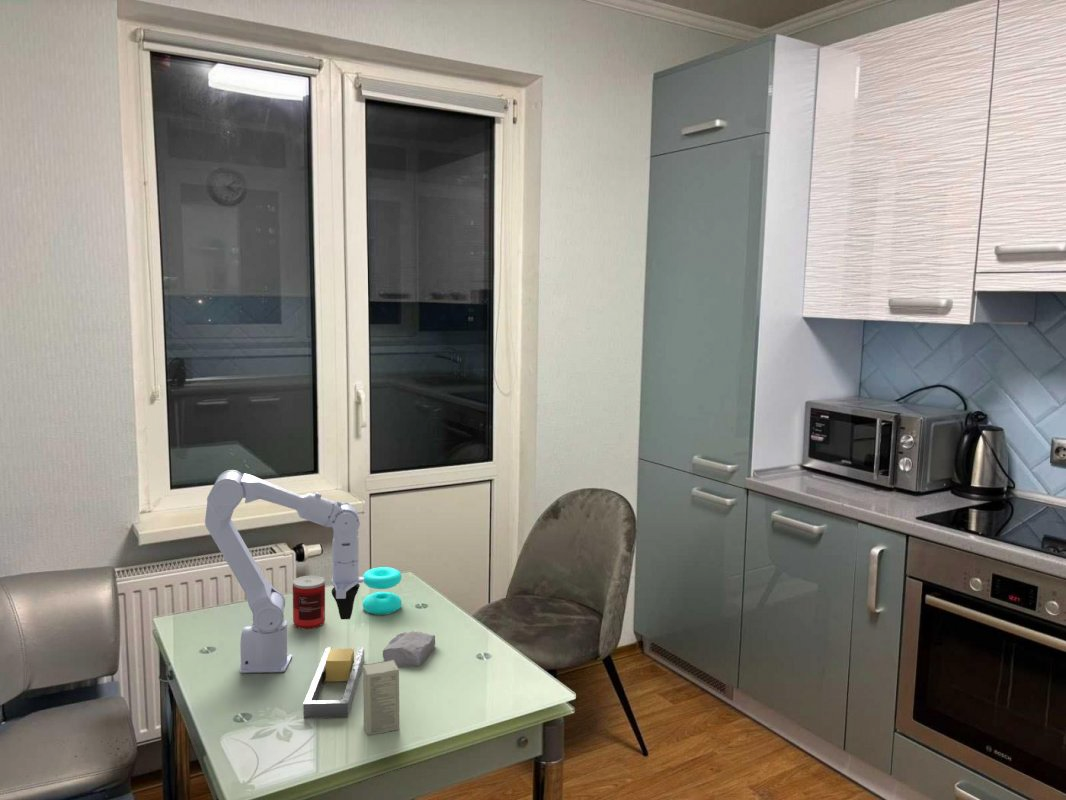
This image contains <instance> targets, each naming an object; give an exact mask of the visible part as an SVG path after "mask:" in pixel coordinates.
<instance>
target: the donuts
mask: <svg viewBox="0 0 1066 800" xmlns="http://www.w3.org/2000/svg"><path fill="white" fill-rule="evenodd" d="M362 577H364V582H363V583H364V585H365V586H367V587H368V588H371V589H375V590H387V589H390V588H393V587H396V586H397V585H398V584H400V582H401V581H402V573H401V572H400V571H399V570H398V569H396V568H393V567H390V566H389V567H386V566H380V567H374V568H370V569H368V570H366V571H365V572H364V573H363V575H362ZM401 599H402V598H400V596H399V595H397V594H396V593H393V592H392V591H391V592H389V591H377V592H373V593H371V594H369V595H366V597H365V598H364V599H363V601H362V608H363V610H364V611H365V612H367V613H370V614H372V615H389V614H392V613H395V612H396V611H398V610H399V609H401V606H402V600H401Z"/></svg>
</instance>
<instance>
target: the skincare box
mask: <svg viewBox="0 0 1066 800" xmlns="http://www.w3.org/2000/svg"><path fill="white" fill-rule="evenodd" d="M398 666H399V665H396V663H395V661H394V660H390V661H385V660H384V661H379V662H375V663H374V662H373V663H368V664H363V666H362V677H363V678H362V682H363V683H362V685H363V725H364V728H365V731H366V734H367V736H372V735H377V734H383V733H387V732H391V731H397V730H400V727H401V725H400V721H401V720H400V669H399V667H398Z"/></svg>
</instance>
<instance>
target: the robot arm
mask: <svg viewBox="0 0 1066 800" xmlns="http://www.w3.org/2000/svg"><path fill="white" fill-rule="evenodd" d="M243 499H244V500H245V501H244V503H245V504H248V503H251V502H254V501H259V500H262V501H266V502H268V503H272V504H274V505H275V504H276V505H279V506H282V507H285V508H288V509H292V510H295V511H296V513H297V515H298V517H299V518H301V519H303V520H307V521H309V522H311V523H315V524H317V525H320V526H323V527H325V528H332V530H333V538H332V540H331V541H332V542H331V543H332V544H331V545H332V546H331V547H332V549H331V550H332V551H331V553H332V554H331V555H332V556H331V557H332V559H331V560H332V561H331V563H332V571H331V572H332V577H331V584H332V586H333V587H332V589H331V596H332V597H333V599H334V601H335V603H336V606H337V609H338V614H339V618H340V620H351V617H352V615H353V609H354V603H355V599H356V596H357V595H358V592H359V589H360V587H361V586H360V584H361V583H364V577H363V576H359V575H360V574H359V573H360V569H359V568H360V564H359V563H360V560H359V559H360V558H359V557H360V556H359V555H360V554H359V553H360V550H359V549H360V545H359V542H360V539H359V538H358V537H359V529H360V526H361V522H360V519H359V518H360V517H359V514H358V511H357V509H356V508H355V507H354V506H353V505H351V504H350V503H349V502H342V501H341V500H337V501H334V500H331V499H329V498H326V497H323V496H322V493H321V492H318V491H316V492H315V493H312V492H308V493H306V494H303V495H301V494H300V493H299V494H298V493H296V492H294V491H291V490H288V489H286V488H284V487H281V486H279V485H277V484H274V483H272V482H269V481H268V480H264V479H262V478H259V477H257V476H255V475H252V474H249V473H242V472H240V471H238V470H236V469H235V470H234V469H228V470H226V471H223V472H222V473H220V474H219V475H218V477H217V478H216V480H215V482H214V483H213V486H212V487H211V490H210V491H209V494H208V495H207V498H206V501H207V502H206V511H205V517H204V518H205V519H204V524H205V527H206V530H207V531H208V532H209V534H210V536H211V537H212V540H213V541H214V543H215V544H216V546H217V547H218V550H219V551H220V553H221V555H222V556H223V558H224V560H225V562H226V563H227V565H228V566H229V568H230V570H231V572H232V573H233V575H234V577H235V578H236V580H237V582H238V583H239V585H240V587H241V589H242V590H243V592H244V594H245V596H246V600H247V604H248V607H249V609H250V611H251V613H252V625H246V626H245V625H244V627H243V628H242V632H241V635H240V642H239V643H240V644H239V645H240V670H239V672H240V673H243V674H247V673H248V674H249V673H284V672H286V670H287V668H288V667H289V664H290V662H291V660H292V658H293V654H292V653H291V654H290V653H288V627H287V626H288V621H287V620H286V619H285V618H284V617H285V615H284V614H285V613H284V610H285V606H286V599H285V597H284V595H283V594H282V593H281V592H280V591H278V590H277V589H276V588H274V587H273V585H272V583H271V582H270V581H269V580H268V579H267V578H266V577H265V575H264V574H263V572H262V570H261V568H260V567H259V565H258V563H257V562H256V560H255V559H254V557H253V555H252V553H251V551H250V550H249V547H248V546H247V545H246V543H245V541H244V540H243V537H242V536H241V534H240V532H239V531H238V529H237V527H236V525H235V523H234V522H233V520H232V516H233V513H234V511H235V509H236V508H237V507H238V505H239V504H240V503H241V502H242V500H243Z"/></svg>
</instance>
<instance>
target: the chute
mask: <svg viewBox="0 0 1066 800" xmlns="http://www.w3.org/2000/svg"><path fill="white" fill-rule="evenodd" d="M330 649H333V647H330V646H329V647H325V649H324V652H323V654H322V657H321V659H320V661H319V664H318V667H317V669H316V672H315V675H314V677H313V679H312V681H311V684H310V686H309V689H308V691H307V694H306V696H305V699H304V701H303V706H302V711H303V719H347V718H349V714H350V712H351V708H352V705H353V700H354V698H355V697H354V696H355V695H356V690H357V687H358V684H359V680H360V677H361V673H362V671H363V665H364V662H365V646H359V647H358V648H357V653H356V656H355V657H354V662H353V666H352V669H351V674H350V677H349V680H348V681H347V684H346V687H345V691H344V694H343V697H342V699H340V700H337V699H334V700H333V699H332V700H327V699H326V700H325V699H324V700H323V699H322V700H318V698H319V695H320V692H321V690H322V688H323V686H324V685H325V683H326V659H327V657H328V654H329V651H330Z"/></svg>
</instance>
